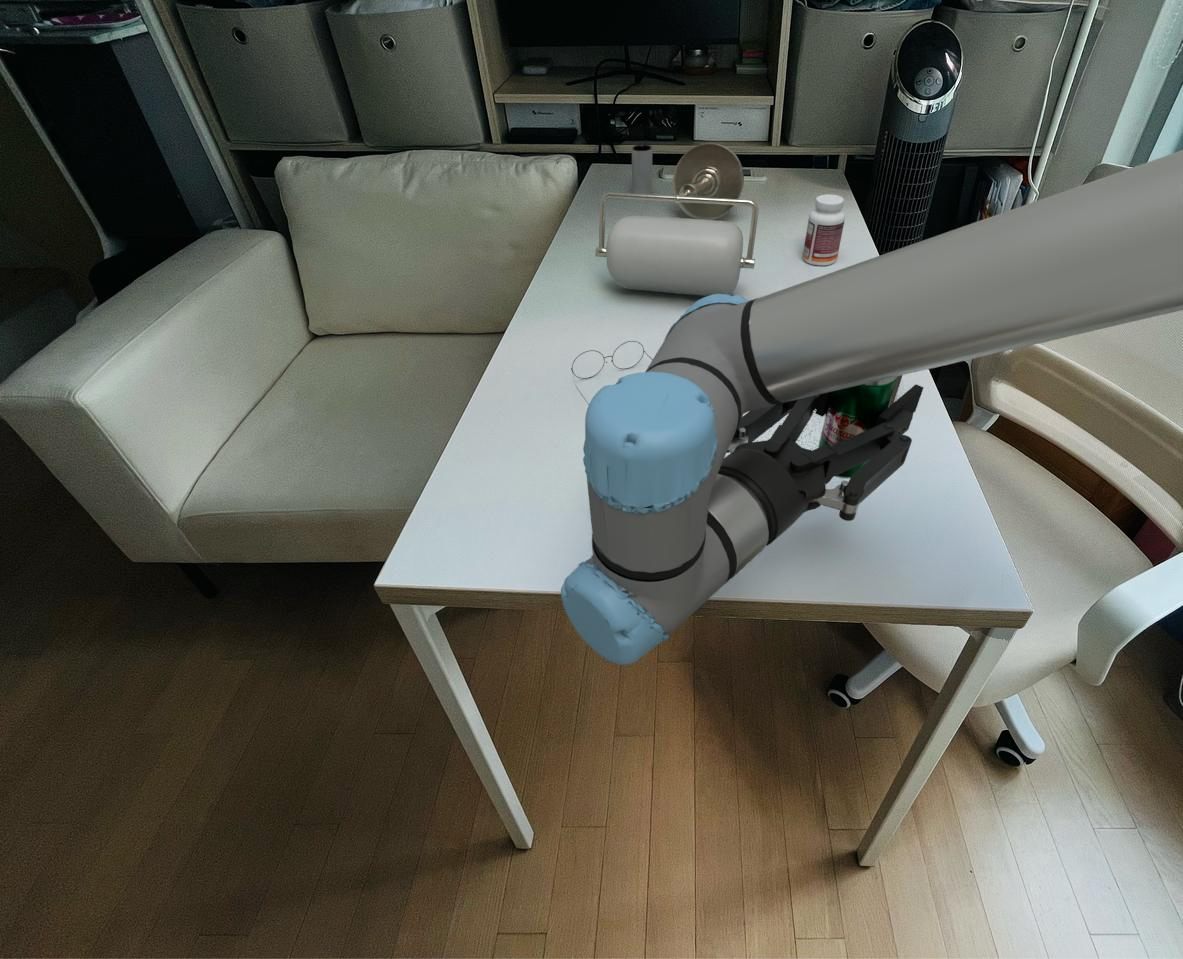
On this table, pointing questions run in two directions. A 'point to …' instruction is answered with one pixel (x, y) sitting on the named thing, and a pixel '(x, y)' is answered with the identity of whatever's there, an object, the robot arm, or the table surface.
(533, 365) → the table surface
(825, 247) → the pill bottle
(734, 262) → the lamp
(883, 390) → the soda can
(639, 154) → the grey cylinder
